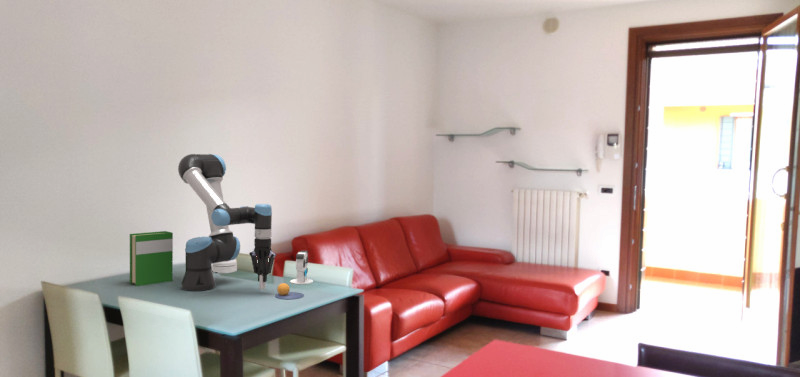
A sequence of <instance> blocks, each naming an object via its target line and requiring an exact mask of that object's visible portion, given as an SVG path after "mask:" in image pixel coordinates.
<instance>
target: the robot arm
mask: <svg viewBox="0 0 800 377" xmlns="http://www.w3.org/2000/svg"><path fill="white" fill-rule="evenodd" d="M177 169H178V170H177V171H178V175H179V177H180V179H181V180H182V181H183V183H185V184H188V185H189V186H190V188H191V189H192V190H193V191H194V192H195V194H196V195H197V196H198V198H200V200H201V201H202V202H203V204H204V205H205V207H206V213H207V219H208V223H209V228H210V229H209V230H210V234H209V235H208V236H197V237H193V238H189V239H187V241H186V243H185V249H184V250H185V251H184V252H185V272H184V275H183V278H182V281H181V286H180V287H181V290H184V291H191V292H198V291H207V290H212V289H214V288H216V280H215V277H214V274H213V272H212V263H218V262H224V261H225V262H227V261H230V260H234V259H235V258H236V259H237V258H238V256H239V254H240V252H241V241H240V240H239V238H238V237H237V236H235V235H234V233H233V231H232V230H230V228H229V226H233V225H243V224H253V225H254V240H253V242H254V245H253V246H254V248H253V250H252V251H250V252H249V254H248V255H249V256H250V259H251V264H252V268H253V273H254V274H257V282H258V283H259V284H258V285H259V288H258V290H265V289H266V282H268V275H269V274H271V273H272V269H273V265H274V261H275V258H276V256H277V253H274V252H273V250H272V238H271V237H272V222H273V221H272V219H273V218H272V217H273V216H272V215H273V211H272V205H271V204H269V203H256V204H255V205H254V207H251V206H240V207H230V206H229V205H228V204H227V202H226V201H225V200H224V194H223V190H222V184H221V183H222V181H223V179H224V178H223V177H224V176H225V174H226V170H227V166H226V162H225V161H224V159H223V158H222V157H221V156H220V155H217V154H211V153H210V154H209V153H208V154H207V153H205V154H204V153H203V154H201V153H199V154H197V153H196V154H195V153H190V154H187V155H185V156H184V157H182V158H181V159H180V161H179V163H178V166H177ZM256 255H257V257H256ZM269 255H270V258H269V262H268V256H269ZM257 260H258V263H257Z"/></svg>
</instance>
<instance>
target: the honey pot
mask: <svg viewBox="0 0 800 377" xmlns="http://www.w3.org/2000/svg"><path fill="white" fill-rule="evenodd" d="M237 270H238V260H237V257H236V258H235V259H234V260H230V261H227V262H225V261H224V262H218V263H212V271H213V272H212V273H215V272H218V273H217V274H229V273H235V272H237Z"/></svg>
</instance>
